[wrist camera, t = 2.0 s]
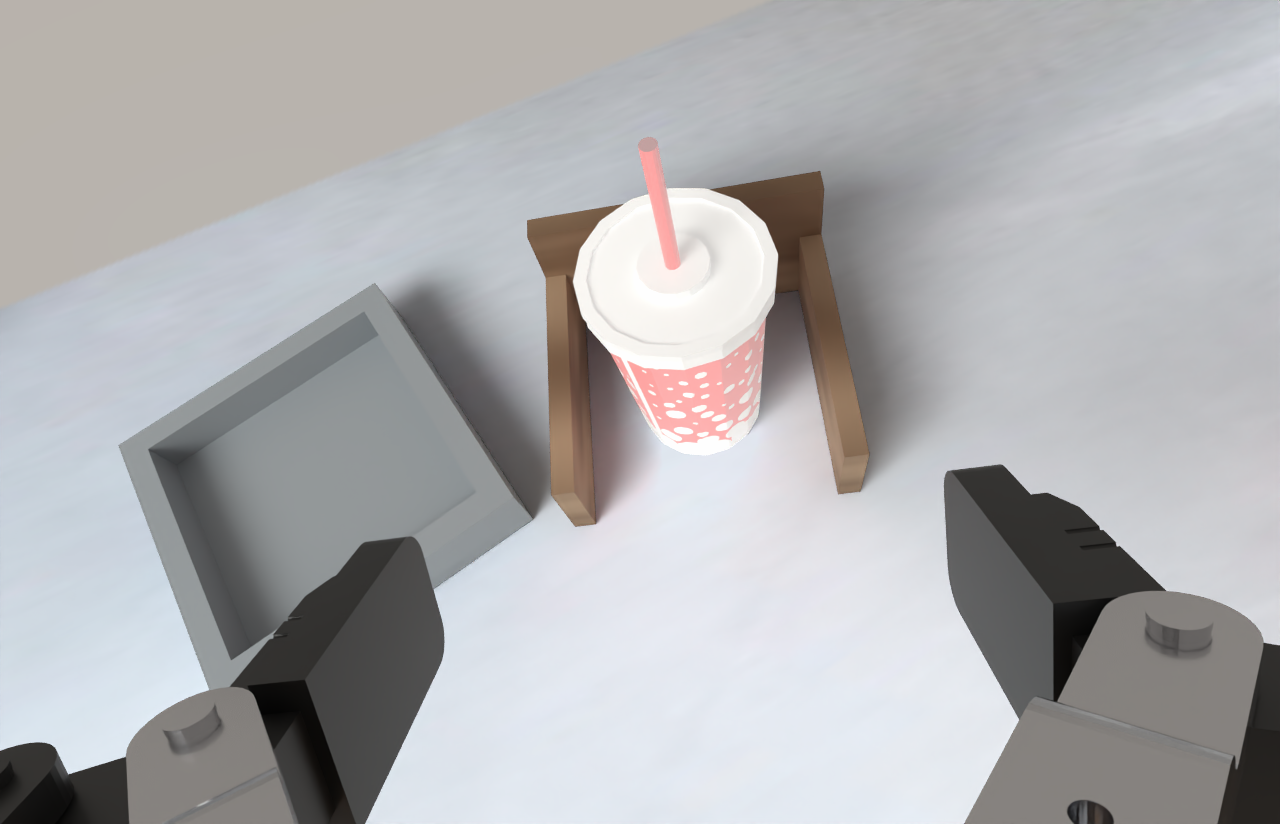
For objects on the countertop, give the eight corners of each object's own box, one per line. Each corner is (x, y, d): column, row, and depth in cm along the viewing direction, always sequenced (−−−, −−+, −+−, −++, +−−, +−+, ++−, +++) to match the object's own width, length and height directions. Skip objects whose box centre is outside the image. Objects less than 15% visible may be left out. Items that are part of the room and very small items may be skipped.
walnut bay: (566, 309, 35) (527, 220, 29) (814, 271, 34) (820, 170, 28) (575, 526, 30) (530, 467, 25) (860, 491, 29) (877, 421, 24)
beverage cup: (812, 388, 31) (830, 115, 19) (711, 505, 30) (657, 293, 17) (693, 309, 34) (639, 22, 21) (594, 414, 32) (474, 171, 20)
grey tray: (161, 468, 35) (118, 445, 32) (400, 314, 36) (374, 283, 34) (257, 711, 29) (214, 703, 27) (532, 519, 31) (513, 497, 29)
